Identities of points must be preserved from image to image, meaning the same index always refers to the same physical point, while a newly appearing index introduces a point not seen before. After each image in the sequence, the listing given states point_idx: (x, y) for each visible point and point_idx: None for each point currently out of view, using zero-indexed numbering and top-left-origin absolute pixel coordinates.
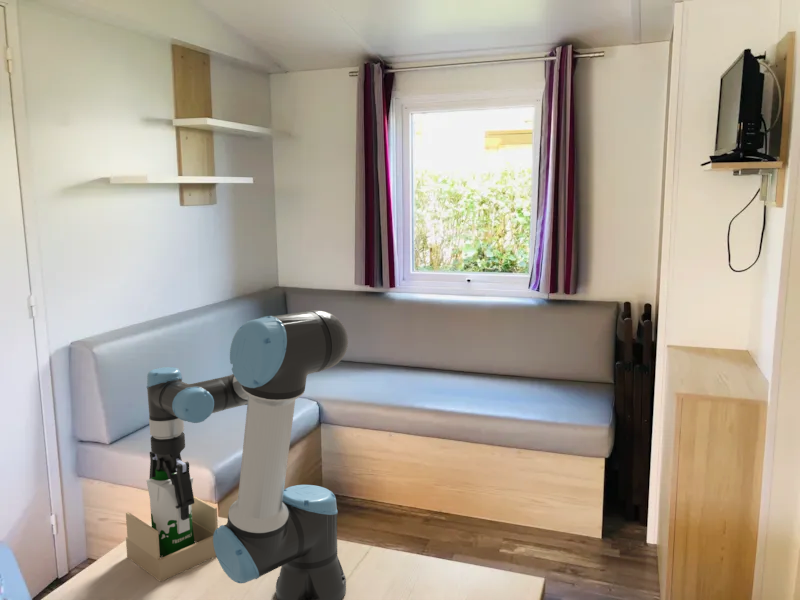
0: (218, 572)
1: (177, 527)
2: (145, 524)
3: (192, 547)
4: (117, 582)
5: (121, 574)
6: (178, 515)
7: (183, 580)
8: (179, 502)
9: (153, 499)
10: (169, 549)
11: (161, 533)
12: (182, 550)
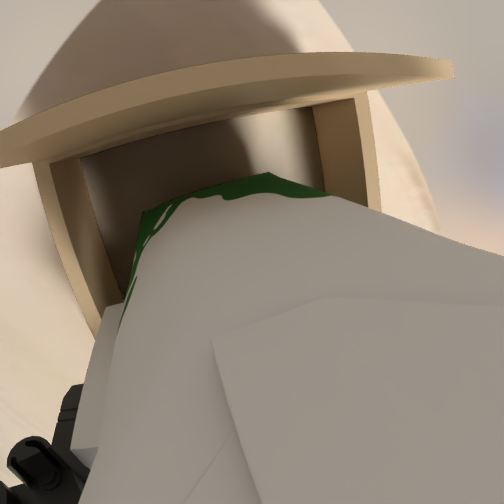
0: (38, 333)
1: (116, 322)
2: (145, 88)
3: (88, 318)
4: (162, 16)
5: (209, 38)
6: (82, 391)
7: (34, 226)
8: (42, 502)
9: (368, 282)
10: (143, 225)
11: (168, 214)
12: (69, 274)
